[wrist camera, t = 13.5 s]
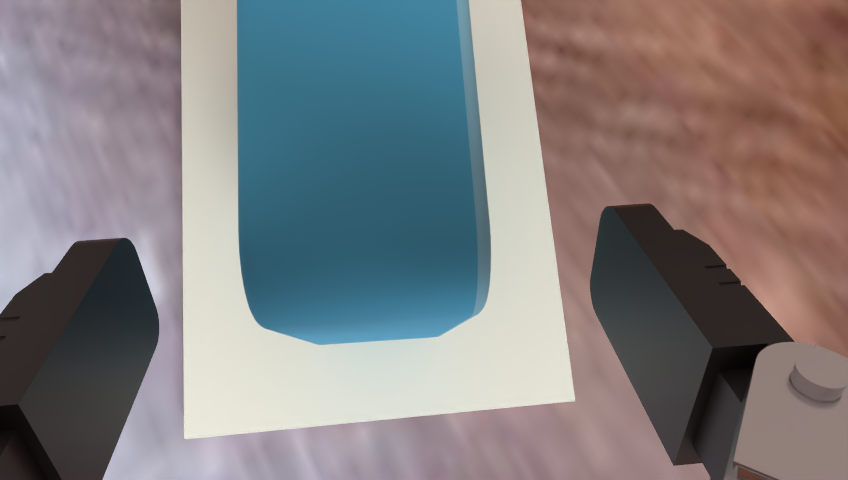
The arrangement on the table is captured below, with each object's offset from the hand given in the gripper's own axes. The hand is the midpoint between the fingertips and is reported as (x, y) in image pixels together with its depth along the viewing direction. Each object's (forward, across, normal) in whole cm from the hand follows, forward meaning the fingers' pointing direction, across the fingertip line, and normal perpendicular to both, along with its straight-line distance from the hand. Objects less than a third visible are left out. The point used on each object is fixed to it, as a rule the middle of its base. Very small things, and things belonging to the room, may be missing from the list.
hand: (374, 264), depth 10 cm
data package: (+12, 0, +5) cm, 13 cm away
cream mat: (+13, 0, +5) cm, 14 cm away
